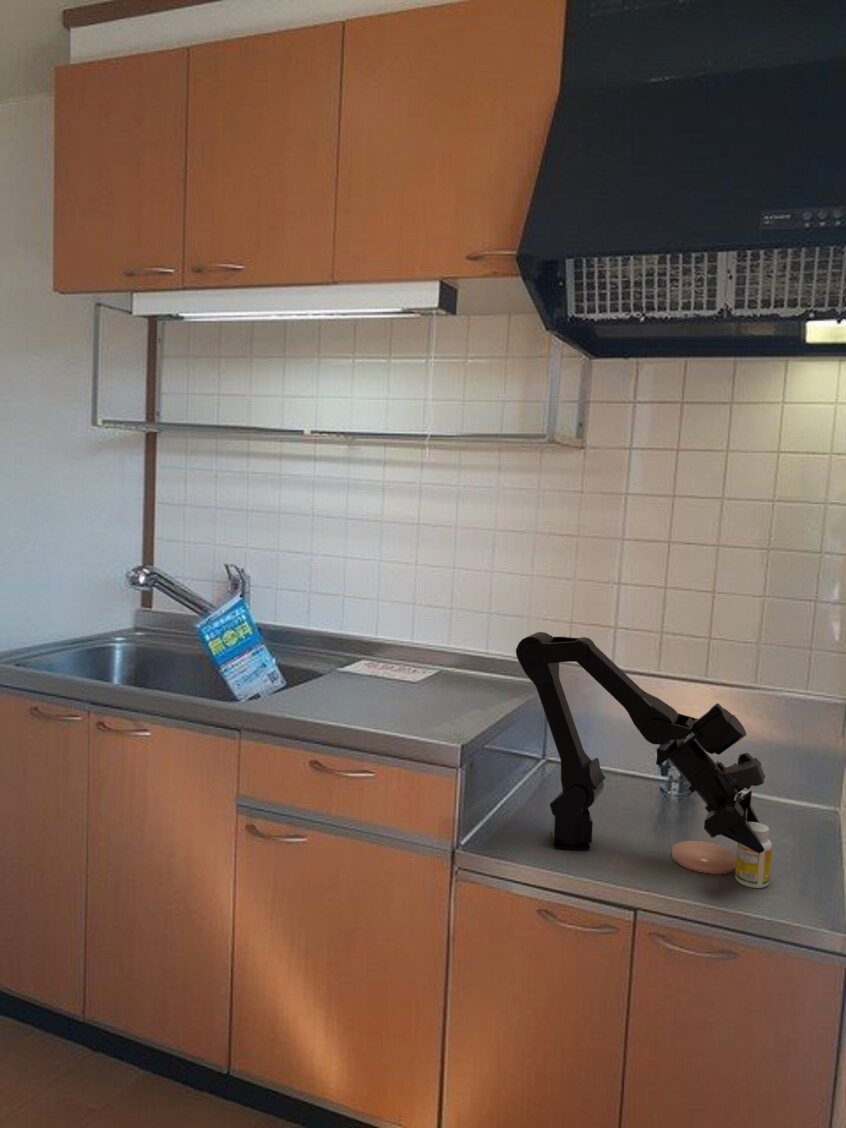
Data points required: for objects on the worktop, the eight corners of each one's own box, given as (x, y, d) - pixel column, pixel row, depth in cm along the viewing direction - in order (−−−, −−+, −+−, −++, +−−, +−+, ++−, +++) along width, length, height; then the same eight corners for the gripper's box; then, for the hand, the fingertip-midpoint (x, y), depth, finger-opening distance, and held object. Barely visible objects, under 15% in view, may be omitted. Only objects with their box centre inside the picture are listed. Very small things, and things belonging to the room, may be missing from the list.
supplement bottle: (743, 889, 145) (747, 833, 144) (729, 874, 150) (733, 820, 149) (775, 888, 145) (779, 832, 144) (759, 873, 151) (763, 819, 150)
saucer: (679, 872, 150) (680, 865, 150) (665, 845, 161) (666, 839, 161) (745, 875, 150) (745, 869, 150) (726, 848, 161) (727, 842, 160)
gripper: (730, 757, 138) (801, 839, 135) (741, 728, 155) (805, 800, 152) (676, 797, 143) (743, 877, 139) (693, 764, 159) (753, 835, 156)
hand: (763, 845), depth 146 cm, fingers closed on supplement bottle, 5 cm apart
